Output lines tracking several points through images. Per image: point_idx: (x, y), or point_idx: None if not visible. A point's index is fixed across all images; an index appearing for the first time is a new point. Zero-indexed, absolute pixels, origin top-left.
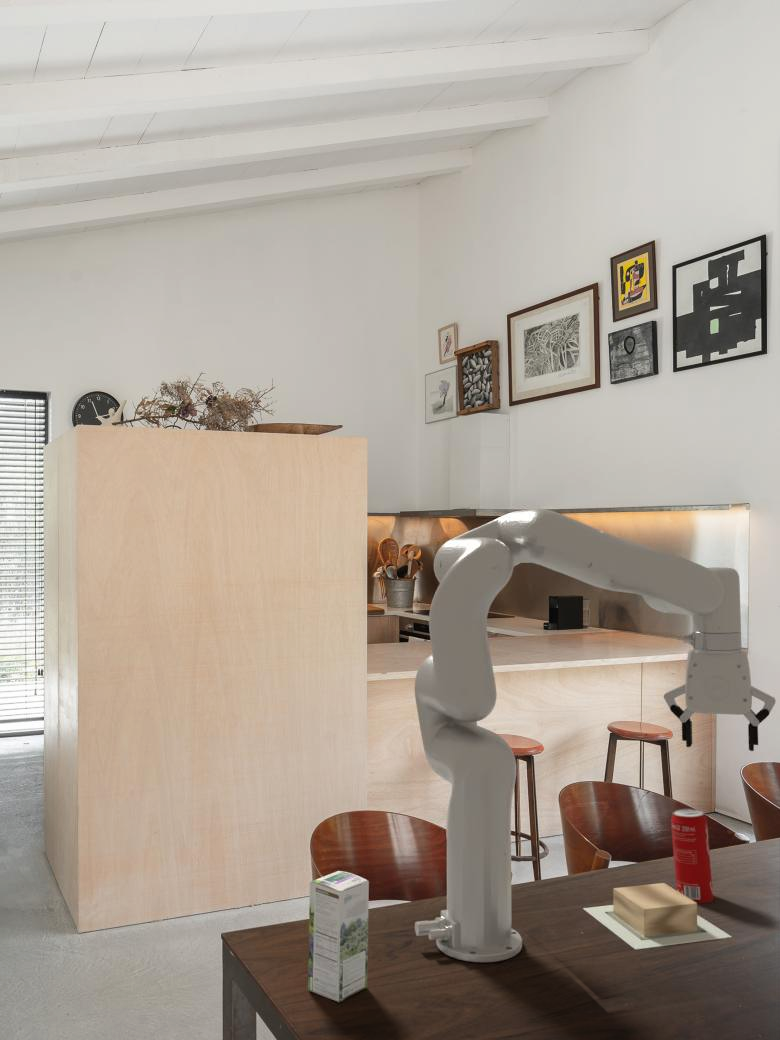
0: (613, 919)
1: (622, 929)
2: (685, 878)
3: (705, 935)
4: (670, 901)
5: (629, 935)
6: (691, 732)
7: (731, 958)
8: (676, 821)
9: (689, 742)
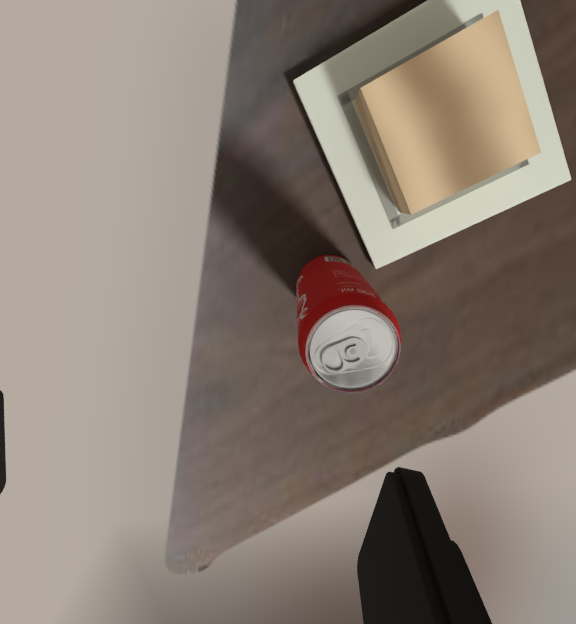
0: None
1: None
2: (354, 269)
3: (343, 75)
4: (420, 86)
5: None
6: (382, 617)
7: (305, 13)
8: (391, 314)
9: (405, 490)
